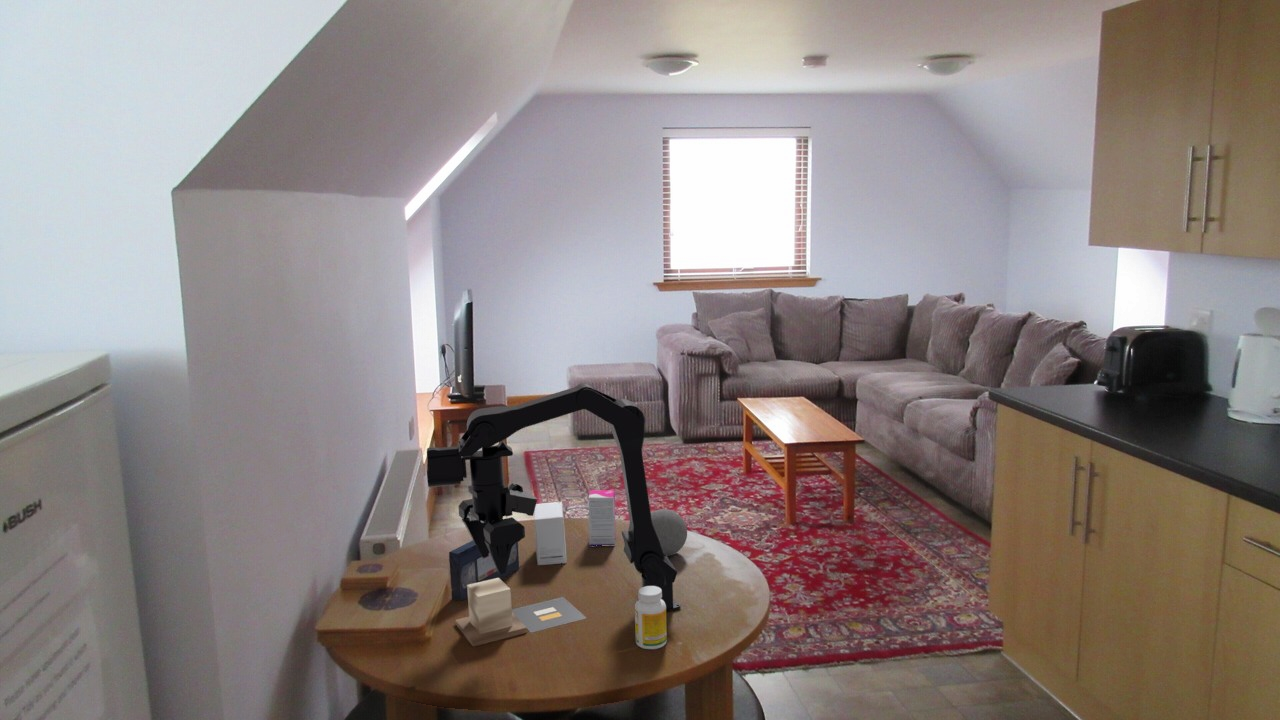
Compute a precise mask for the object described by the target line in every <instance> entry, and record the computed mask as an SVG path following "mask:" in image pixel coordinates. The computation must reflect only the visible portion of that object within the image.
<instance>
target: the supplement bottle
mask: <svg viewBox="0 0 1280 720" xmlns="http://www.w3.org/2000/svg"><path fill="white" fill-rule="evenodd" d="M637 594H638V595H637V597H638V600H636V601H637V602H636V604H634V625H635V626H634V628H635V630H634V632H635V643H636V645H637V647H640V648H641V649H645V650H657V649H660V648H662V647H664V646H665V645H666V643H667V640H668V637H667V635H668V633H667V612H666V604H665V602H664V601H663V600H662V599H661V598H662V590H661V588H659V587H656V586H645V587H642V586H641V587H640V588H638V592H637Z"/></svg>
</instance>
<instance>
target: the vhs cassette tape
mask: <svg viewBox="0 0 1280 720" xmlns="http://www.w3.org/2000/svg"><path fill="white" fill-rule="evenodd" d="M448 557H449V558H448V561H449V573H450V587H451V590H450V591H451V599H452V600H455V601H458V602H462V601H463V600H466V599H468V591H467V585H469V584H473V583H478V582H482V581H486V580H491V579H495V578H500V579H501V580H502V579H504V578H506V577H507V576H510V575H511V574H513V573H515V572H517V571H518V570H519V569H520V557H519V542H516V543H515V544H514V545H513V547H512V549H511V553H510V557H509V561H508V565H507V569H506V573H504V574H499V572H498V570H497V568H496V566H495V564H494V561H493V559H492V557H491V555H490V552H489V555H488V557H485V558H483V557H482V556H481V554H480V552H479V550H478V548H477V546H476V545H475V543H474V541H473V539H471V541H469V542H466V543H465V544H464V543H463V545H461V546H459V547H456V548H455V549H453V550H451V551H449V552H448Z"/></svg>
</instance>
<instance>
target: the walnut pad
mask: <svg viewBox="0 0 1280 720" xmlns="http://www.w3.org/2000/svg"><path fill="white" fill-rule="evenodd" d="M455 625H456V626H457V628H458V630H459V631H460V632H461V633H462V635H463V636H464V638H465V639H466V640H467V641H468V642H469V643H470V645H471V646H472V647H476V646H480V645H485V644H488V643H492V642H496V641H500V640H503V639H508V638H512V637H515V636H519V635H522V634H527V633H528V629H527V627H526V626H525V625H524V624H523V623H522V622H521V621H520V620H519V619H518V618H517V617H516V616H515V615H514V613H513V612H512V625H513V626H511V627H507V628H503V629H499V630H495V631H491V632H487V633H484V634H480V633H479V632H478V631H477V630H476V629H475V627H474V626H473V625H472V624H471V623H470V621H469V616H465V617H461V618H457V619H455Z"/></svg>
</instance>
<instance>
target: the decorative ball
mask: <svg viewBox="0 0 1280 720" xmlns="http://www.w3.org/2000/svg"><path fill="white" fill-rule="evenodd" d="M651 518H652V524H653V527H654V529H655V532H656V534H657V537H658V539H659V542H660V545H661V548H662V551H663V553H664V554H665V555H666V556H667V557H670V556H673V555H675V554H676V553H677V554H678V552H679V551H681V549H682V548H683V547H684V546H685V543H687V538H688V529H687V528H688V527H687V524H686V522H685V520H684V519H683V517H682V516H681V515H680V514H679V513H677V512H676V511H674V510H671V509H668V508H667V509H666V508H660V509H655V510H653V511H651Z"/></svg>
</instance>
